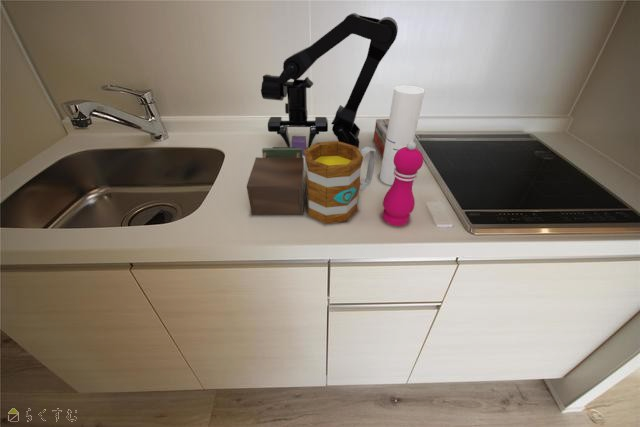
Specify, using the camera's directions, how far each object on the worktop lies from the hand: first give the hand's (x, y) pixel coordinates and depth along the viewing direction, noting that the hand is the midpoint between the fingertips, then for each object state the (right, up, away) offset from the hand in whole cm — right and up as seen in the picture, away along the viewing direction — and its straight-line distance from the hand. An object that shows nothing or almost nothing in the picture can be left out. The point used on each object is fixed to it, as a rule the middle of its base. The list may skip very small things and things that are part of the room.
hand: (299, 148), depth 96 cm
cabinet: (-4, -18, -20) cm, 27 cm away
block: (0, -1, +1) cm, 1 cm away
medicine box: (+31, +4, 0) cm, 31 cm away
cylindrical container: (+28, -12, -12) cm, 33 cm away
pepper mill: (+26, -23, -26) cm, 43 cm away
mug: (+12, -19, -22) cm, 31 cm away
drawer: (-4, -11, -13) cm, 17 cm away
